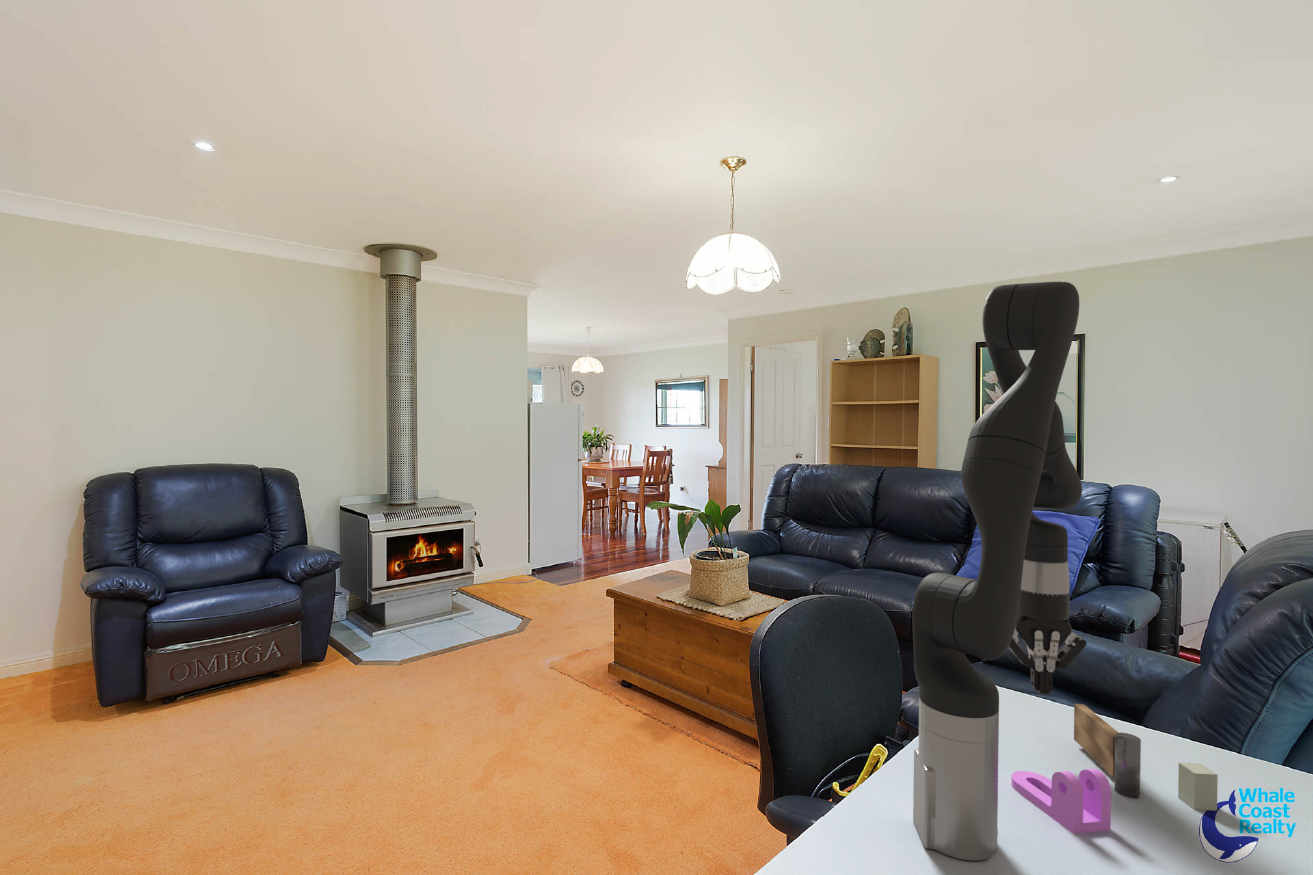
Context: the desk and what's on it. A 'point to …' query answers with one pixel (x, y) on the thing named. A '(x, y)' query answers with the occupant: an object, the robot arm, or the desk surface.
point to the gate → (1095, 737)
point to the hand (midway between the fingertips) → (1041, 692)
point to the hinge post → (1127, 764)
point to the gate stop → (1197, 786)
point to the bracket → (1069, 798)
